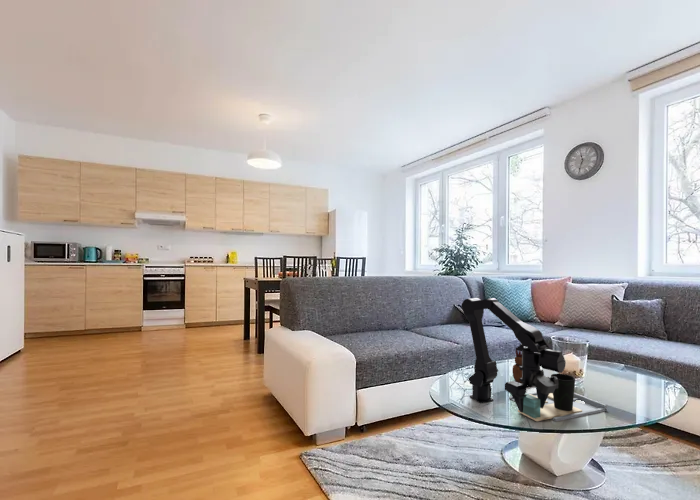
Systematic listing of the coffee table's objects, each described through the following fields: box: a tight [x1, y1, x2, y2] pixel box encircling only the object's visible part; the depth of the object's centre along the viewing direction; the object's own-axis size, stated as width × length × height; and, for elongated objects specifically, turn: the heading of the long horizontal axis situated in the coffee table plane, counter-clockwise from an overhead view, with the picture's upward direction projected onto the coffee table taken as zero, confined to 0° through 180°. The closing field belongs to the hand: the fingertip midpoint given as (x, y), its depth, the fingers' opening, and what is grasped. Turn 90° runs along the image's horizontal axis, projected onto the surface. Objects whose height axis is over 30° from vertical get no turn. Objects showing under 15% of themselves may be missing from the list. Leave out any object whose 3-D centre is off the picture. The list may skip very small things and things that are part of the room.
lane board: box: [508, 391, 608, 422], centre depth 140 cm, size 25×21×2 cm
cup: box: [550, 373, 576, 411], centre depth 134 cm, size 8×8×12 cm
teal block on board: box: [517, 392, 582, 422], centre depth 132 cm, size 22×8×7 cm, turn 110°
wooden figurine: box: [512, 349, 523, 384], centre depth 165 cm, size 7×6×15 cm
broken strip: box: [529, 393, 554, 404], centre depth 144 cm, size 22×8×2 cm, turn 110°
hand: (531, 410), depth 129 cm, fingers open, 9 cm apart
